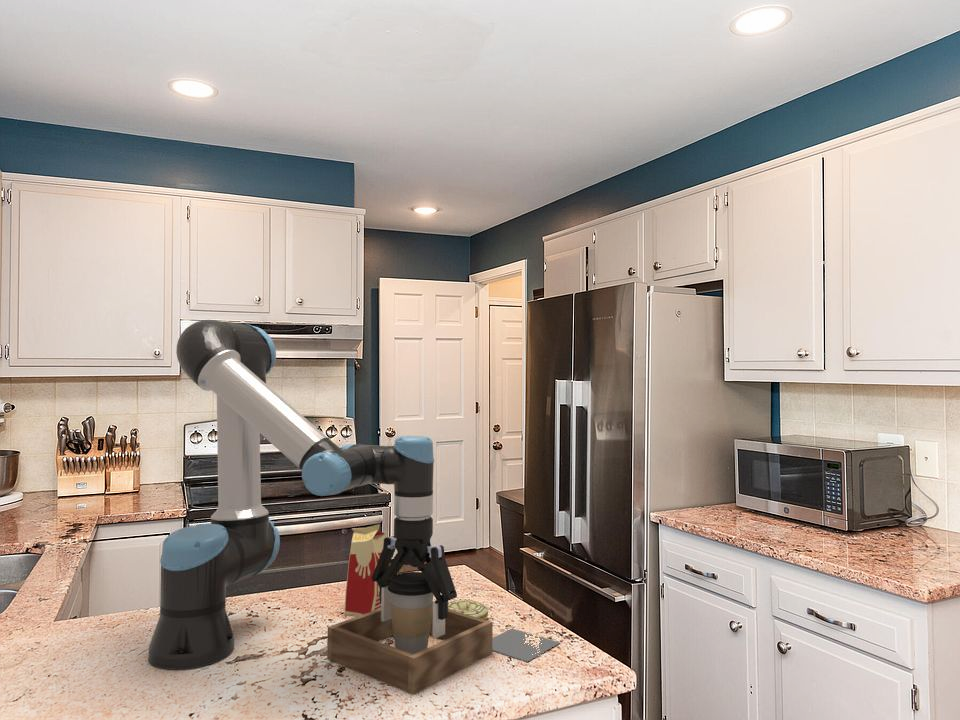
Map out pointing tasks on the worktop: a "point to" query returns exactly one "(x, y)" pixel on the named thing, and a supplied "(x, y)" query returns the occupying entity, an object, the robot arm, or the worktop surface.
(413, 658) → the frame
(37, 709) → the worktop surface
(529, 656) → the mat
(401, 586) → the coffee cup
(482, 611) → the decorated donut
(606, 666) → the worktop surface
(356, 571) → the milk carton
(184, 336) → the robot arm
